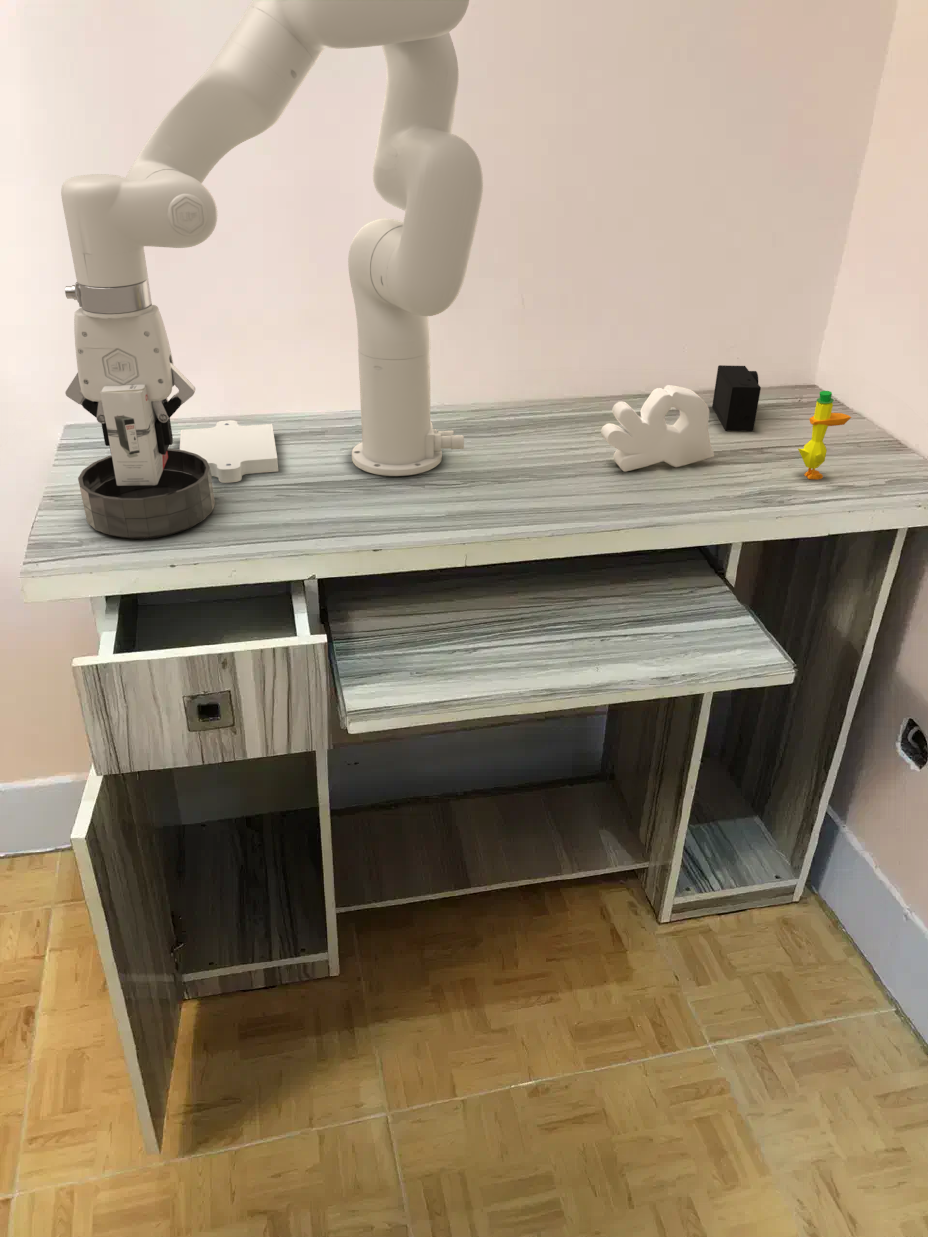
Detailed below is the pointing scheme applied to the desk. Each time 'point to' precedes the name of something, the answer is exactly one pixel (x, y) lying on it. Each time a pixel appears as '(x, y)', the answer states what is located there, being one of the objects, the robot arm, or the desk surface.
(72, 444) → the desk surface
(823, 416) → the toy figure
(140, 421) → the ink box
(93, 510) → the bowl
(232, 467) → the mounting plate
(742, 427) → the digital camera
